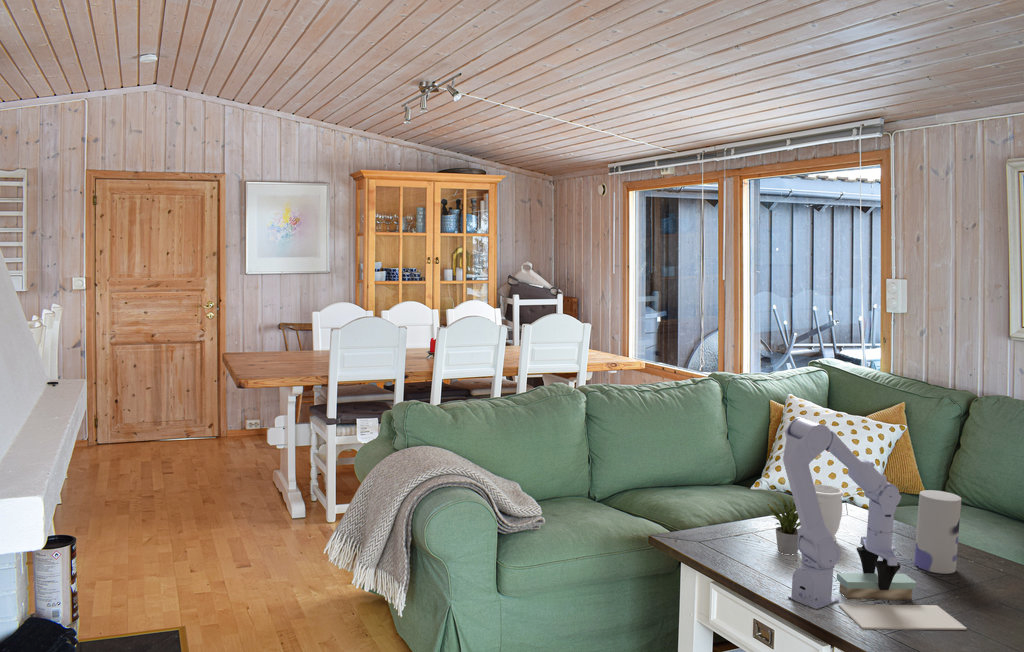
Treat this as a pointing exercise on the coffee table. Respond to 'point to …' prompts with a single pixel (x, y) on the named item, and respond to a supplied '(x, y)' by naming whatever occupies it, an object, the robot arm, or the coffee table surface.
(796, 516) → the house plant
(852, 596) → the pencil box
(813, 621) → the coffee table surface
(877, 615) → the mat
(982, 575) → the coffee table surface
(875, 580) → the lid
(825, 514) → the white vase
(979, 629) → the coffee table surface
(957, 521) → the container
